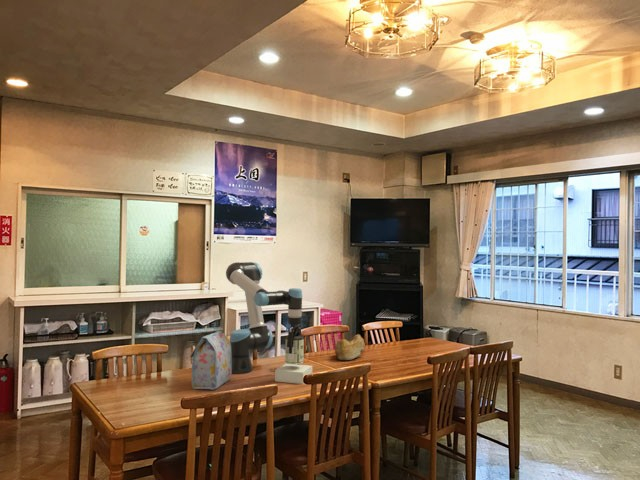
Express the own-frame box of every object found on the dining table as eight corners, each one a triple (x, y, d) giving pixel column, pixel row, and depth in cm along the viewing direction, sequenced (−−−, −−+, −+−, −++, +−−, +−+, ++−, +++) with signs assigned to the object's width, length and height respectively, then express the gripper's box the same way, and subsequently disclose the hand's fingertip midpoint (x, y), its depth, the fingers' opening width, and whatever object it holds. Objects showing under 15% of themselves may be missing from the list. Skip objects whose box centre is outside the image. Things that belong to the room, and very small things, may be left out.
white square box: (274, 381, 260) (275, 369, 260) (285, 374, 276) (285, 363, 276) (302, 384, 256) (303, 372, 256) (312, 376, 271) (312, 365, 271)
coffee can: (286, 359, 271) (287, 334, 272) (304, 360, 270) (305, 335, 271) (283, 364, 261) (283, 337, 261) (302, 364, 260) (302, 338, 260)
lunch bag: (204, 377, 265) (205, 329, 266) (233, 379, 262) (234, 330, 263) (186, 389, 243) (187, 336, 243) (218, 391, 240) (219, 337, 241)
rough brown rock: (350, 354, 334) (349, 332, 335) (368, 356, 322) (367, 334, 323) (326, 360, 318) (325, 337, 319) (344, 362, 306) (343, 339, 307)
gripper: (294, 319, 254) (293, 362, 254) (307, 314, 276) (307, 353, 276) (281, 318, 257) (280, 361, 256) (295, 313, 278) (294, 352, 278)
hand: (294, 357), depth 266 cm, fingers closed on coffee can, 10 cm apart
